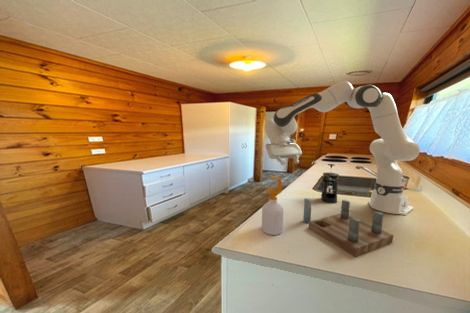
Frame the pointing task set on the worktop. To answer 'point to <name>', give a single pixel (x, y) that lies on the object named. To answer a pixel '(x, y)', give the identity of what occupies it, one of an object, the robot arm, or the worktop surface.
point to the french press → (329, 194)
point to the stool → (352, 231)
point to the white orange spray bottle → (273, 212)
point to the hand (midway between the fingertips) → (290, 163)
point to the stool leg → (307, 210)
